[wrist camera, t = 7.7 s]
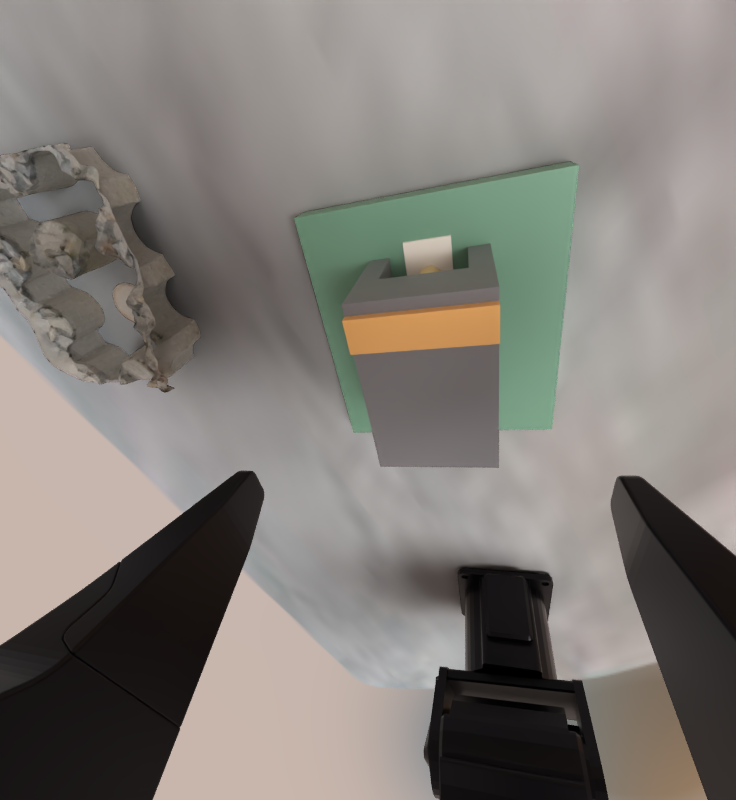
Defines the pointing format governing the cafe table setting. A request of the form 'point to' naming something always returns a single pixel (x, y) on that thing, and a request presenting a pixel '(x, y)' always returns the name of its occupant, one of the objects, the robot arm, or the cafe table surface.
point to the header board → (448, 250)
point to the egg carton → (80, 253)
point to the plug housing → (429, 361)
